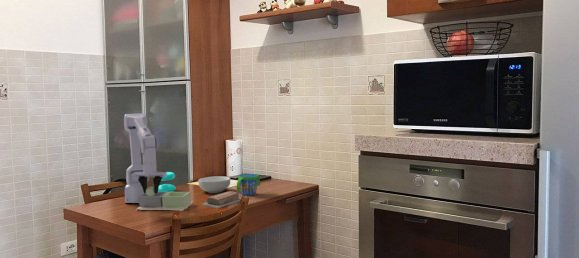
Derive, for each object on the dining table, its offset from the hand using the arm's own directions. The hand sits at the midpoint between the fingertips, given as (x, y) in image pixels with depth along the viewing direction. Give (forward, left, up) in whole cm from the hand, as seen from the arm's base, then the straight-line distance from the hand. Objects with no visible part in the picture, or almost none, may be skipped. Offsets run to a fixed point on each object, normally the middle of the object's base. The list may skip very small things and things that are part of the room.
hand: (150, 192), depth 221 cm
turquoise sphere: (-10, +46, -10) cm, 48 cm away
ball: (0, 0, +1) cm, 1 cm away
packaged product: (+28, +20, -10) cm, 35 cm away
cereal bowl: (+17, +46, -10) cm, 50 cm away
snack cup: (+37, +39, -10) cm, 54 cm away
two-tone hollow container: (+2, +12, -9) cm, 15 cm away
